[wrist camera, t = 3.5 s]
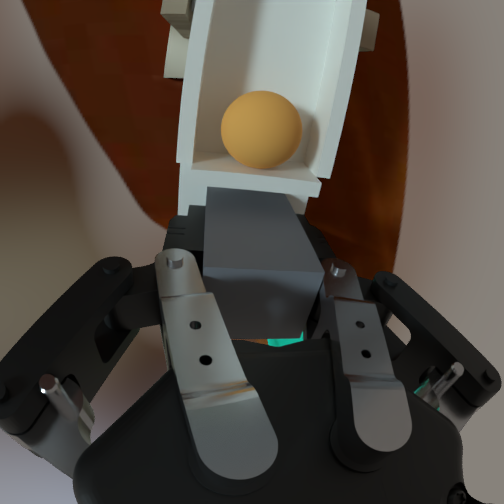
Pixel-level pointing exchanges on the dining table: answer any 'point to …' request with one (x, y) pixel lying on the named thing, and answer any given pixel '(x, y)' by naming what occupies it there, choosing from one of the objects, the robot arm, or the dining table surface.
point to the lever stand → (180, 18)
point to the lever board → (271, 179)
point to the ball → (261, 129)
